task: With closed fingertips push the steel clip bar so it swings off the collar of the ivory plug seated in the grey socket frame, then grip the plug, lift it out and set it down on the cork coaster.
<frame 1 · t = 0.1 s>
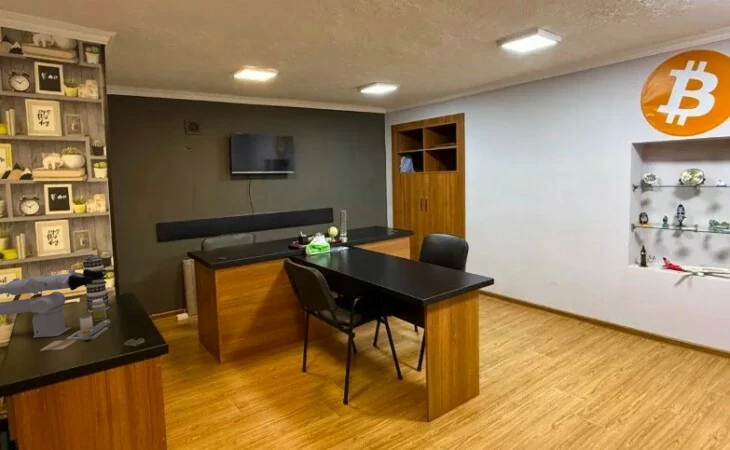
hand: (97, 277, 166), 22 cm above the table, tool horizontal, fingers open, 7 cm apart
coaster: (59, 346, 154), on the table
clip: (96, 326, 165), point 3 cm above the table, hinge at 0.0°
socket: (87, 334, 164), on the table
supplement bottle: (100, 319, 182), on the table
plug: (87, 334, 165), resting in socket
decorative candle: (99, 309, 195), on the table
clip post: (106, 327, 171), on the table
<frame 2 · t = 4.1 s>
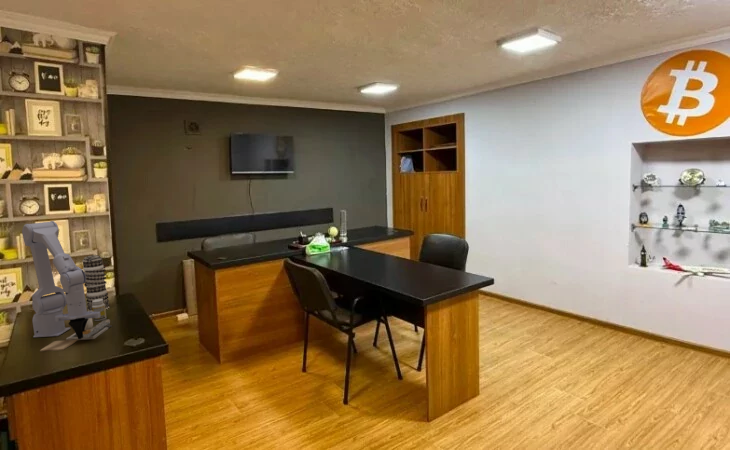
hand: (81, 337, 158), 1 cm above the table, tool pointing down, fingers closed
clip: (96, 326, 165), point 3 cm above the table, hinge at 0.6°, touching gripper
everything else where it was.
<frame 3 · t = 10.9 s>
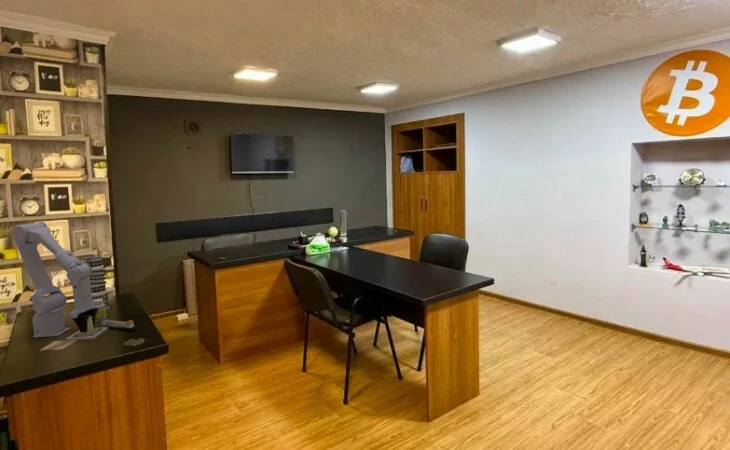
hand: (87, 329, 164), 2 cm above the table, tool pointing down, fingers closed on plug, 4 cm apart
clip: (117, 322, 169), point 3 cm above the table, hinge at 66.0°
plug: (87, 334, 164), resting in socket, touching gripper
everything else where it was.
when the fingers open (4 cm above the table, at t = 14.3 s): plug stays where it is, resting on coaster.
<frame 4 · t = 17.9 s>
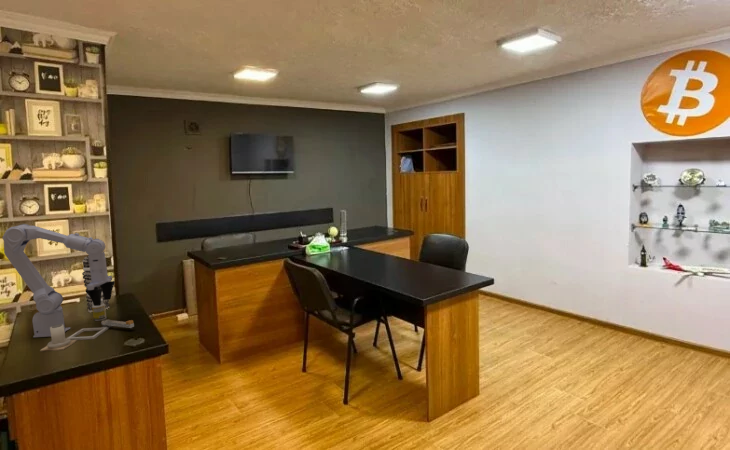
hand: (102, 302, 172), 10 cm above the table, tool pointing down, fingers open, 7 cm apart
plug: (59, 344, 154), resting on coaster
everything else where it was.
at the end: clip at +66° (first picture: +0°); plug 0.3 cm from the coaster (horizontally); plug tilted 0° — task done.
